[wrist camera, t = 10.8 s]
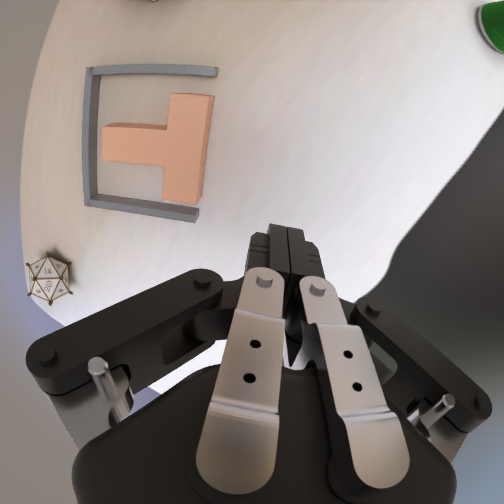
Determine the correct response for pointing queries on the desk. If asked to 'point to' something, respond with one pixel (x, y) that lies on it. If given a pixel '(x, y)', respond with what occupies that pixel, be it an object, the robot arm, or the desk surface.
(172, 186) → the T block
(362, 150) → the desk surface
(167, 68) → the charcoal bay
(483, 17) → the soda can
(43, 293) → the game die
